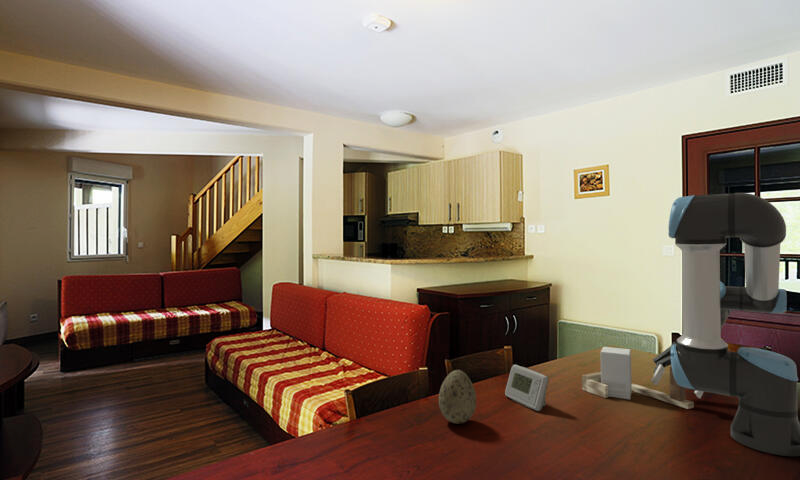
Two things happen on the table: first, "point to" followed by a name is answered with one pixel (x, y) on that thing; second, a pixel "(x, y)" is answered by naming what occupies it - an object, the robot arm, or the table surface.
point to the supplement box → (616, 371)
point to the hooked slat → (639, 390)
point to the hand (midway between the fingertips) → (674, 388)
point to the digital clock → (527, 387)
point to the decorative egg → (457, 397)
